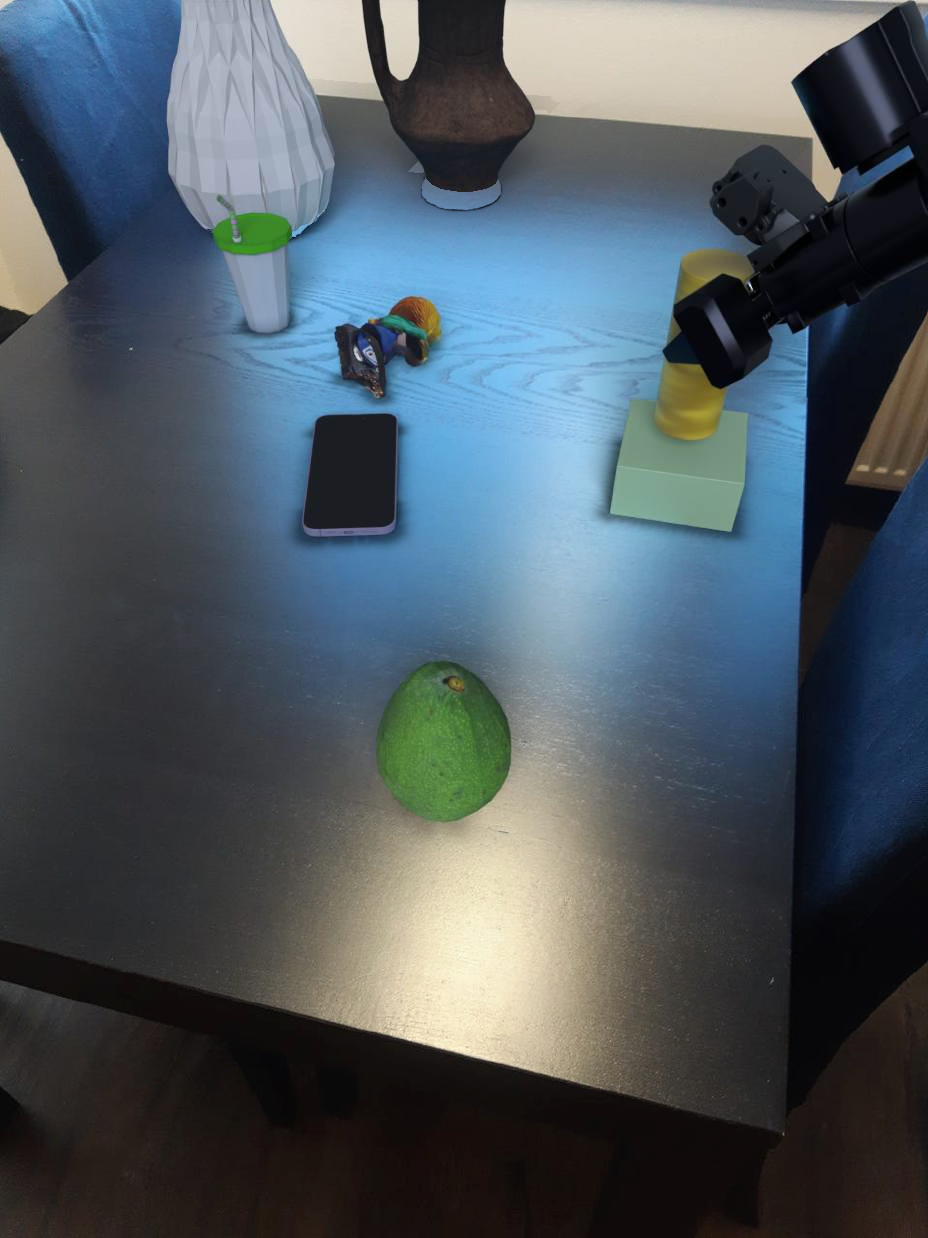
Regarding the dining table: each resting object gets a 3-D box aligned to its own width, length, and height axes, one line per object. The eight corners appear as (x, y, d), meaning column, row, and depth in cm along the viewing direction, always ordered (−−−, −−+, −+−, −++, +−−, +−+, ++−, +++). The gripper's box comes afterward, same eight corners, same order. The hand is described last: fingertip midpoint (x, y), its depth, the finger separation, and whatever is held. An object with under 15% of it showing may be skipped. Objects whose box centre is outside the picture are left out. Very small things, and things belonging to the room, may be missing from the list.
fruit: (426, 874, 52) (417, 758, 43) (359, 779, 56) (339, 656, 48) (533, 807, 55) (544, 686, 46) (461, 722, 59) (460, 597, 51)
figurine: (422, 334, 94) (418, 278, 90) (465, 364, 90) (464, 307, 86) (331, 371, 90) (323, 314, 85) (373, 404, 86) (366, 345, 81)
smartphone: (299, 530, 71) (314, 414, 82) (301, 541, 72) (316, 425, 83) (396, 527, 72) (398, 412, 82) (397, 538, 72) (399, 423, 83)
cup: (283, 298, 100) (260, 158, 89) (318, 326, 96) (298, 182, 85) (220, 319, 97) (188, 176, 86) (253, 349, 93) (223, 202, 82)
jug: (530, 168, 126) (543, -101, 104) (532, 223, 113) (546, -70, 91) (383, 167, 127) (365, -100, 105) (368, 221, 114) (344, -69, 92)
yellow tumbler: (732, 427, 71) (772, 269, 61) (682, 447, 69) (716, 288, 59) (688, 396, 74) (720, 241, 64) (640, 415, 72) (665, 259, 62)
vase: (210, 193, 120) (152, -85, 98) (355, 198, 119) (329, -83, 97) (162, 260, 107) (82, -46, 85) (325, 266, 105) (287, -43, 83)
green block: (735, 460, 79) (748, 412, 75) (731, 532, 72) (745, 484, 69) (623, 444, 81) (631, 397, 77) (609, 513, 74) (616, 465, 70)
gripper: (878, 77, 57) (699, 206, 70) (733, 158, 48) (556, 291, 61) (952, 232, 59) (764, 330, 73) (827, 340, 50) (637, 430, 63)
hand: (685, 341), depth 67 cm, fingers closed on yellow tumbler, 5 cm apart
